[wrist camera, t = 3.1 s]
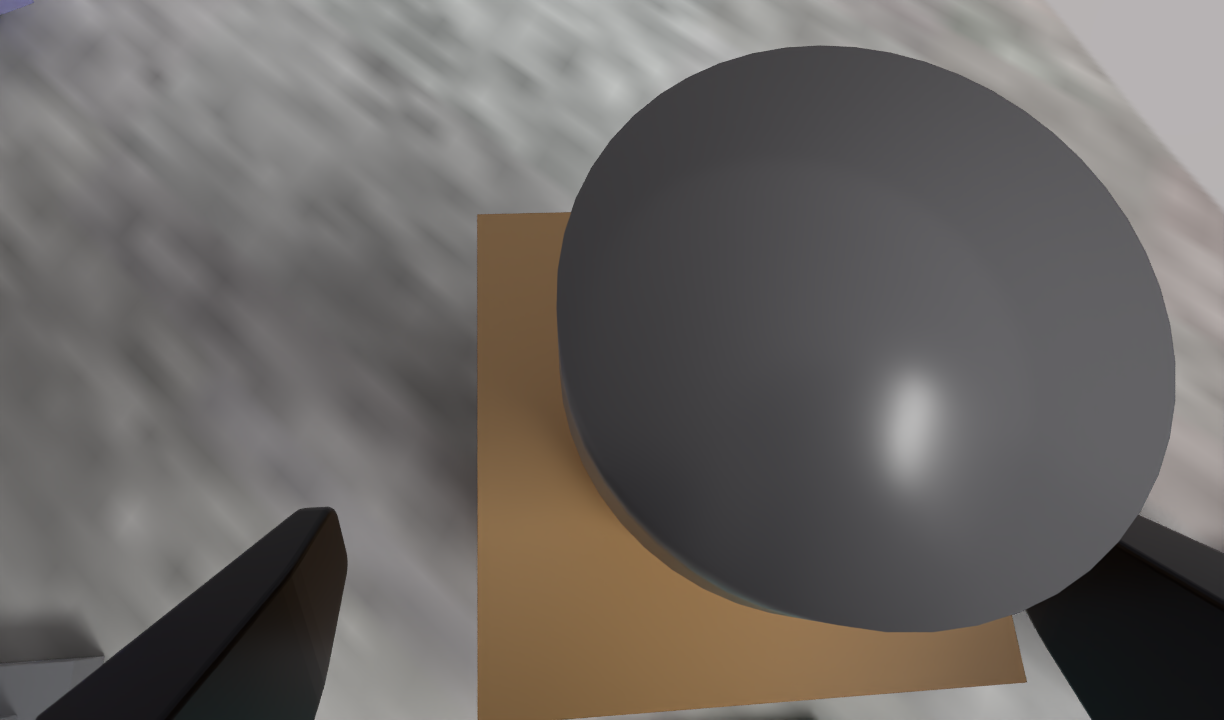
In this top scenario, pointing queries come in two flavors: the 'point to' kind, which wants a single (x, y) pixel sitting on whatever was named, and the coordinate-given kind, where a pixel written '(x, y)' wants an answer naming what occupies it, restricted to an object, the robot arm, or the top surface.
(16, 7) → the computer part
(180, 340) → the top surface
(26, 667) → the post
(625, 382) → the bottle
